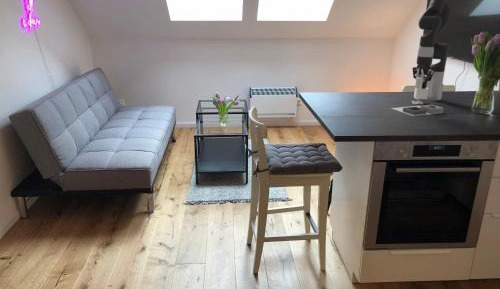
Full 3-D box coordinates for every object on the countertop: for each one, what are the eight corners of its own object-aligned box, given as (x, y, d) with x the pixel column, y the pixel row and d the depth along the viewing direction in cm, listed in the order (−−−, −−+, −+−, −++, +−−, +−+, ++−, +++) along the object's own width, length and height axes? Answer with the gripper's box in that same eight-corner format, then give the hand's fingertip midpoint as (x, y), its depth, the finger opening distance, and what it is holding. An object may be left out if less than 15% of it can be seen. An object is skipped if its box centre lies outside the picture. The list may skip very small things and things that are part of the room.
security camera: (426, 106, 230) (428, 88, 227) (413, 105, 231) (415, 88, 228) (423, 103, 236) (426, 86, 233) (411, 103, 237) (413, 86, 234)
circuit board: (419, 107, 227) (421, 100, 226) (443, 114, 212) (444, 107, 211) (390, 110, 221) (391, 102, 219) (412, 117, 206) (413, 110, 204)
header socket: (415, 110, 217) (416, 106, 216) (425, 113, 210) (426, 109, 210) (402, 111, 214) (403, 107, 213) (412, 114, 207) (413, 111, 207)
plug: (420, 87, 222) (422, 76, 219) (426, 88, 218) (427, 77, 216) (413, 88, 220) (415, 77, 218) (419, 89, 216) (420, 78, 214)
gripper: (441, 56, 208) (435, 90, 214) (421, 53, 221) (416, 84, 226) (429, 57, 206) (424, 91, 211) (410, 54, 218) (405, 85, 224)
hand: (420, 87), depth 219 cm, fingers closed on plug, 4 cm apart
